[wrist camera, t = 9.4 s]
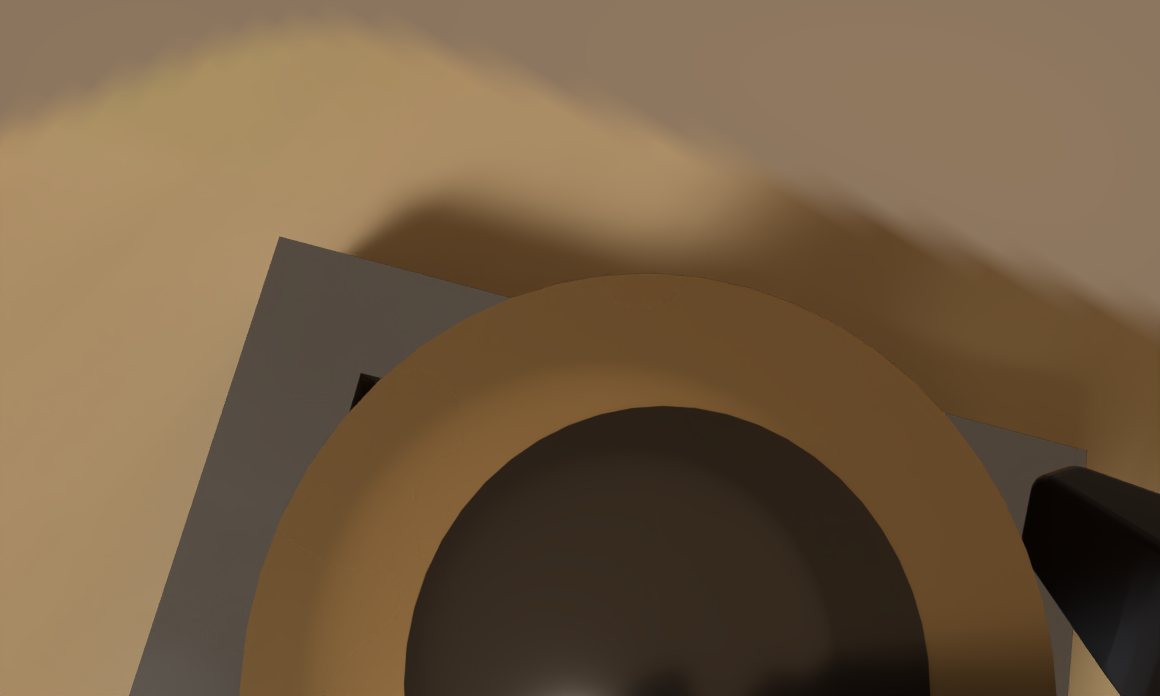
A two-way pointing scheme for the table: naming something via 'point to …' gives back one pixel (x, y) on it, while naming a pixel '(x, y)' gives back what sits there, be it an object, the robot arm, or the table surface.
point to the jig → (314, 410)
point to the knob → (647, 517)
